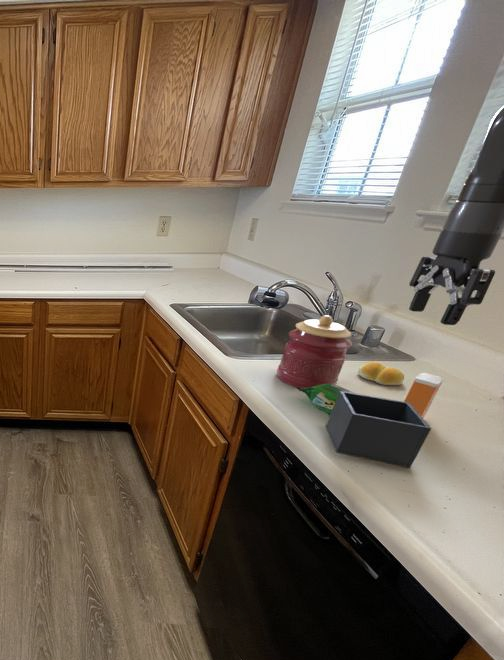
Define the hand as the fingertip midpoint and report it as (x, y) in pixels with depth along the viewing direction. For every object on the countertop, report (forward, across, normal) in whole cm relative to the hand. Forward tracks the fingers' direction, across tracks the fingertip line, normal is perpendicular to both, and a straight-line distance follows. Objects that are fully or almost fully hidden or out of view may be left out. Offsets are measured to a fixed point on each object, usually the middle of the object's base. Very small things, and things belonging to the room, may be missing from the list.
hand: (430, 317), depth 80 cm
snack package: (+24, +2, +8) cm, 25 cm away
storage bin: (+24, -11, +9) cm, 28 cm away
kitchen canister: (+24, +19, +8) cm, 31 cm away
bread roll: (+24, +24, -12) cm, 36 cm away
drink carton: (+24, +2, -7) cm, 25 cm away
